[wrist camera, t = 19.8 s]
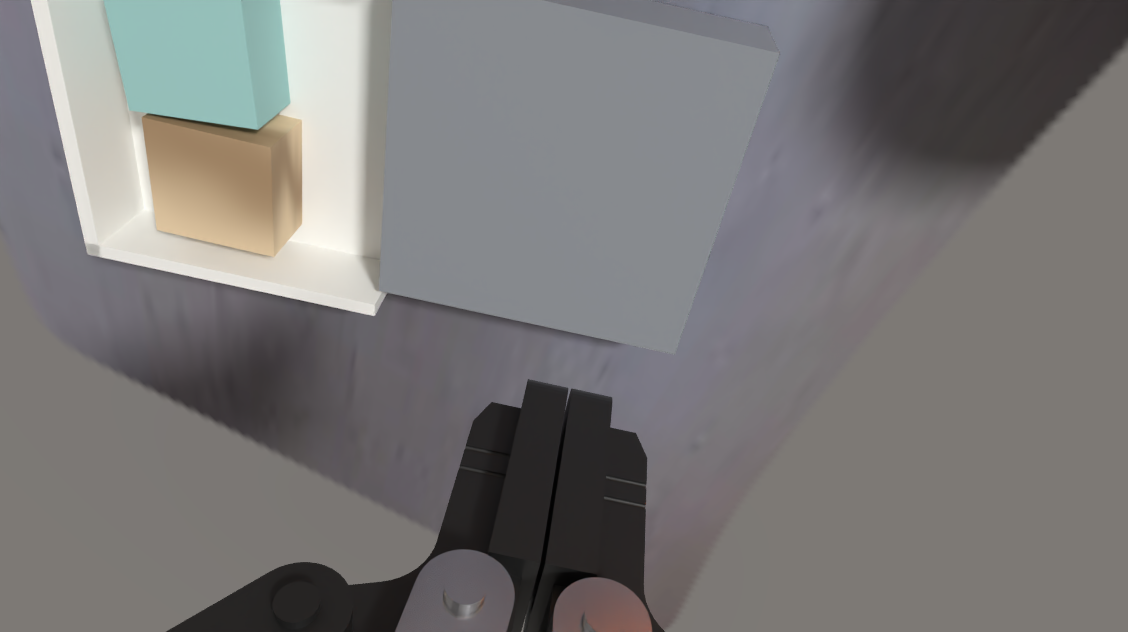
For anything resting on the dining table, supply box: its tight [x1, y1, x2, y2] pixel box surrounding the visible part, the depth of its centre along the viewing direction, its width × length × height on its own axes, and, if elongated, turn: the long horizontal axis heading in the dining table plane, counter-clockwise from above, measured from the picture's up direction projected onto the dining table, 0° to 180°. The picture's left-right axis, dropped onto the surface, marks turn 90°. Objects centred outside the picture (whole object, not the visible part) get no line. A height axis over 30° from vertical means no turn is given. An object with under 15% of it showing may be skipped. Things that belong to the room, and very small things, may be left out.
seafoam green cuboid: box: [104, 0, 291, 130], centre depth 28 cm, size 5×5×3 cm
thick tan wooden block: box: [141, 113, 302, 257], centre depth 31 cm, size 5×5×3 cm
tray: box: [31, 0, 392, 316], centre depth 29 cm, size 15×12×4 cm
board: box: [379, 0, 780, 355], centre depth 30 cm, size 13×13×4 cm
